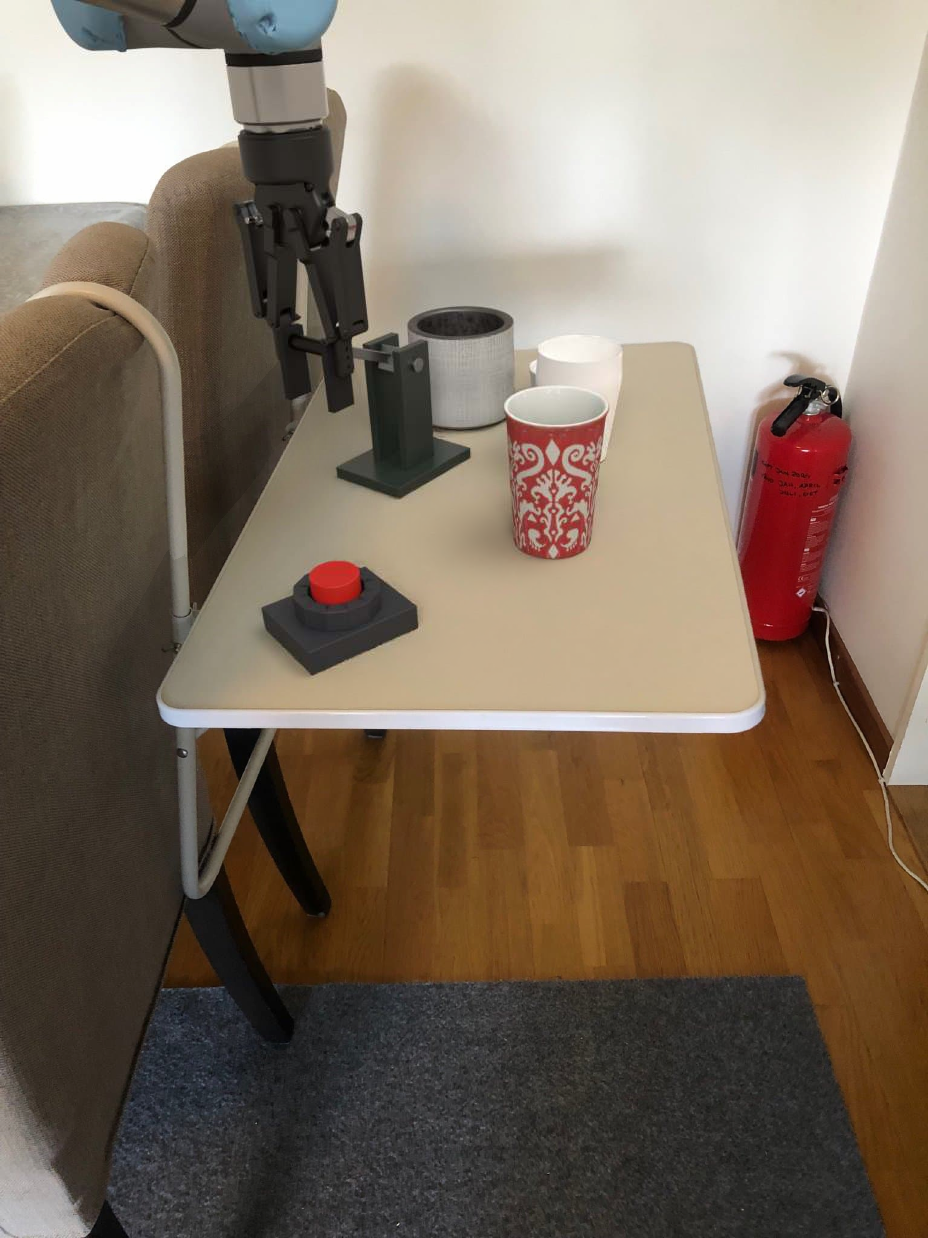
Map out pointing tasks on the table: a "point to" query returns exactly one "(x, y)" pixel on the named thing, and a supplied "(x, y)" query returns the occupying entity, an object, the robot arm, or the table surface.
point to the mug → (554, 467)
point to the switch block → (338, 622)
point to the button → (335, 582)
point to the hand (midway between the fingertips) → (319, 400)
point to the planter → (467, 364)
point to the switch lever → (381, 356)
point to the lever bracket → (401, 425)
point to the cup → (583, 369)
